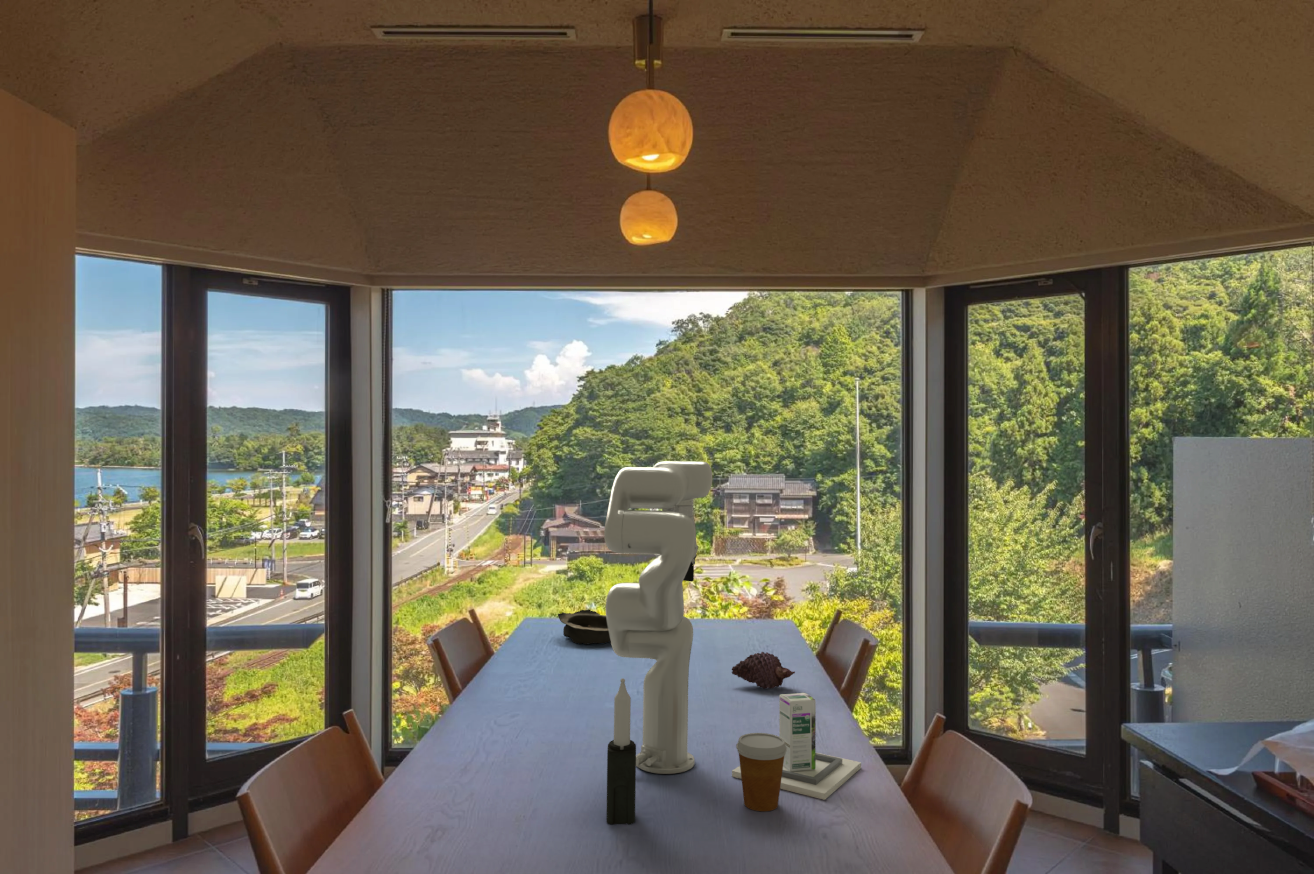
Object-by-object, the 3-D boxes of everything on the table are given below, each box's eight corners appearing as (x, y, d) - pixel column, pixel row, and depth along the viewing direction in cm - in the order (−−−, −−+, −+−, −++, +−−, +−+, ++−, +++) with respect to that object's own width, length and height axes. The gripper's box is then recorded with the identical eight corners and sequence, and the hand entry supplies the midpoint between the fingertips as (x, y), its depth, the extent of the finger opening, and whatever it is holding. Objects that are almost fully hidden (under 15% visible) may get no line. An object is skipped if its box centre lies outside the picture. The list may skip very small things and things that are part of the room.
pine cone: (730, 691, 234) (731, 655, 234) (732, 681, 243) (732, 647, 244) (795, 694, 231) (795, 657, 232) (793, 684, 241) (794, 649, 241)
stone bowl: (549, 633, 304) (551, 607, 304) (616, 635, 311) (618, 610, 312) (562, 648, 280) (565, 620, 281) (634, 649, 288) (637, 622, 288)
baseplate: (824, 799, 161) (824, 788, 161) (731, 776, 172) (732, 765, 172) (861, 767, 177) (861, 757, 177) (774, 748, 188) (774, 738, 188)
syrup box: (790, 772, 171) (791, 700, 171) (778, 762, 177) (779, 692, 177) (815, 770, 172) (816, 698, 173) (803, 760, 178) (804, 691, 178)
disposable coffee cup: (725, 803, 158) (725, 739, 158) (757, 790, 165) (757, 728, 165) (765, 820, 151) (766, 752, 152) (796, 805, 158) (797, 740, 158)
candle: (634, 812, 154) (636, 674, 154) (635, 824, 149) (637, 682, 149) (606, 812, 154) (609, 674, 154) (606, 824, 149) (608, 682, 149)
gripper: (670, 515, 194) (669, 589, 194) (709, 511, 209) (708, 580, 208) (644, 513, 199) (643, 586, 198) (683, 509, 213) (682, 577, 213)
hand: (676, 583), depth 203 cm, fingers open, 9 cm apart
